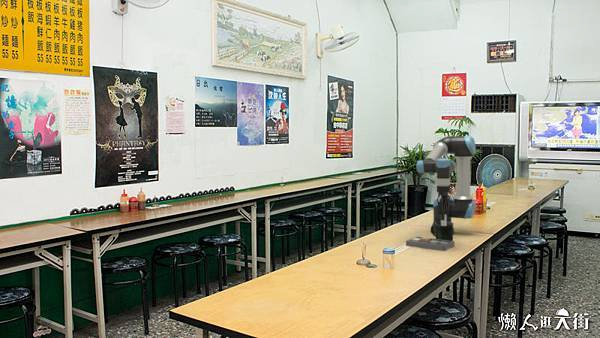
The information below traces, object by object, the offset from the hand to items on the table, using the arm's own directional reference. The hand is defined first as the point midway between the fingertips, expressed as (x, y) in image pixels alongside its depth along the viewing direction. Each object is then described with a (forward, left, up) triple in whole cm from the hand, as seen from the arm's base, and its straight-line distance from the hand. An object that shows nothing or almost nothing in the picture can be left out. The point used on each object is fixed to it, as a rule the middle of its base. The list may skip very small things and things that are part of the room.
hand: (443, 225), depth 302 cm
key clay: (+1, -11, -11) cm, 16 cm away
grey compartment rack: (+1, -8, -14) cm, 16 cm away
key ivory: (+1, -17, -12) cm, 21 cm away
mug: (-17, -9, -14) cm, 24 cm away
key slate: (+1, +1, -12) cm, 12 cm away
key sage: (+1, -5, -12) cm, 13 cm away
